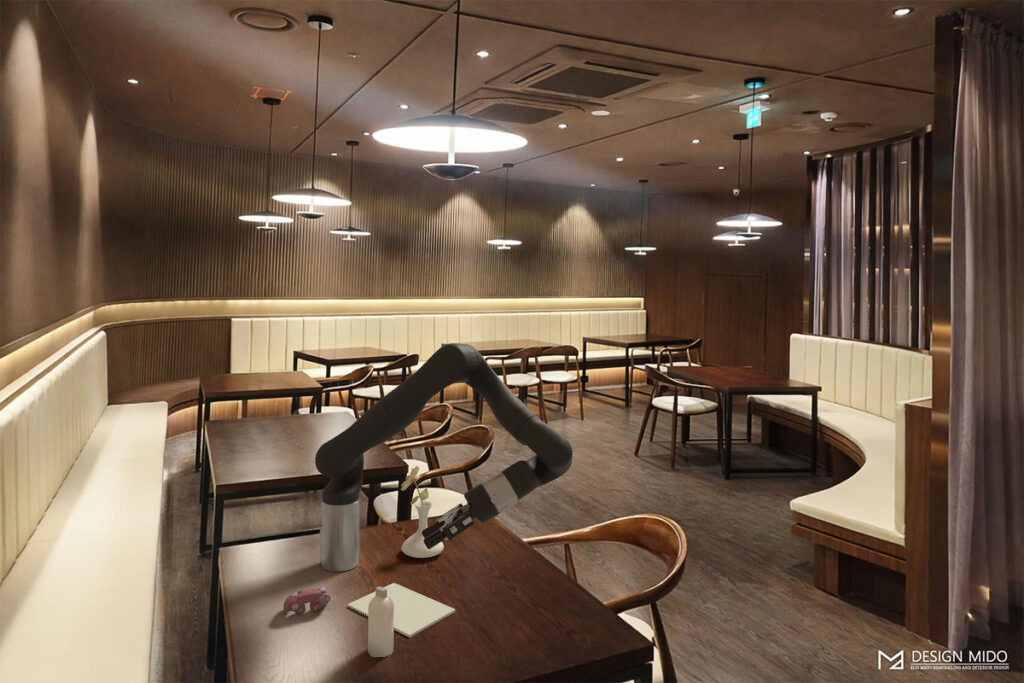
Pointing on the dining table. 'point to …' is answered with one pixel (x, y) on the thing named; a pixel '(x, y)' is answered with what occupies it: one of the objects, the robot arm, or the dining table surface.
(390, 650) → the bottle with rectangular cap
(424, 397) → the robot arm
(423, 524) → the flower in vase
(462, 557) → the dining table surface
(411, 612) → the cream flat board
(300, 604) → the video game controller
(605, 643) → the dining table surface
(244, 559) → the dining table surface
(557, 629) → the dining table surface
